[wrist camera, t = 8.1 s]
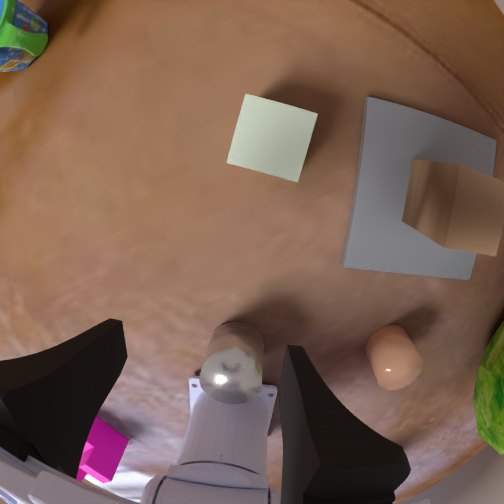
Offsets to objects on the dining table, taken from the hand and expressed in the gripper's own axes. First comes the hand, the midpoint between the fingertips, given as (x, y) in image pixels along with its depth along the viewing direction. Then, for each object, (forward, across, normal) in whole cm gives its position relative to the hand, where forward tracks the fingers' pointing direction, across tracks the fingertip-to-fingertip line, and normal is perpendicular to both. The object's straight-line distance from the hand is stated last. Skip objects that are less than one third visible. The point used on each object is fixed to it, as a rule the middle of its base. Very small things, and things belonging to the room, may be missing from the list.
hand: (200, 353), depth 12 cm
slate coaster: (+10, -14, -7) cm, 19 cm away
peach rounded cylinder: (+10, -14, +6) cm, 18 cm away
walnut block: (+10, -14, -7) cm, 18 cm away
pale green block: (+10, -2, -9) cm, 14 cm away
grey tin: (+10, -1, +7) cm, 13 cm away
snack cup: (+11, +21, -19) cm, 30 cm away
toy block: (+11, +19, +30) cm, 38 cm away
